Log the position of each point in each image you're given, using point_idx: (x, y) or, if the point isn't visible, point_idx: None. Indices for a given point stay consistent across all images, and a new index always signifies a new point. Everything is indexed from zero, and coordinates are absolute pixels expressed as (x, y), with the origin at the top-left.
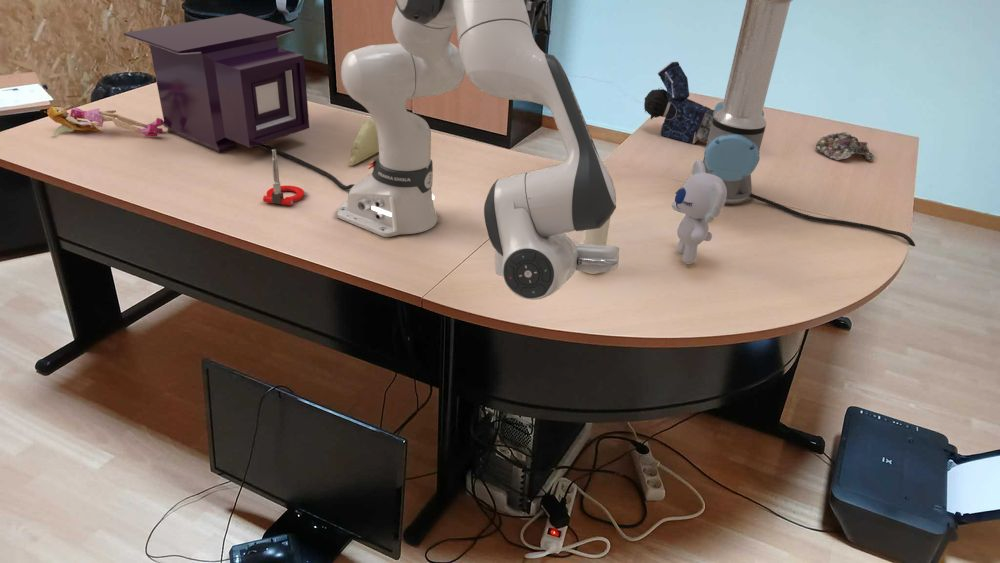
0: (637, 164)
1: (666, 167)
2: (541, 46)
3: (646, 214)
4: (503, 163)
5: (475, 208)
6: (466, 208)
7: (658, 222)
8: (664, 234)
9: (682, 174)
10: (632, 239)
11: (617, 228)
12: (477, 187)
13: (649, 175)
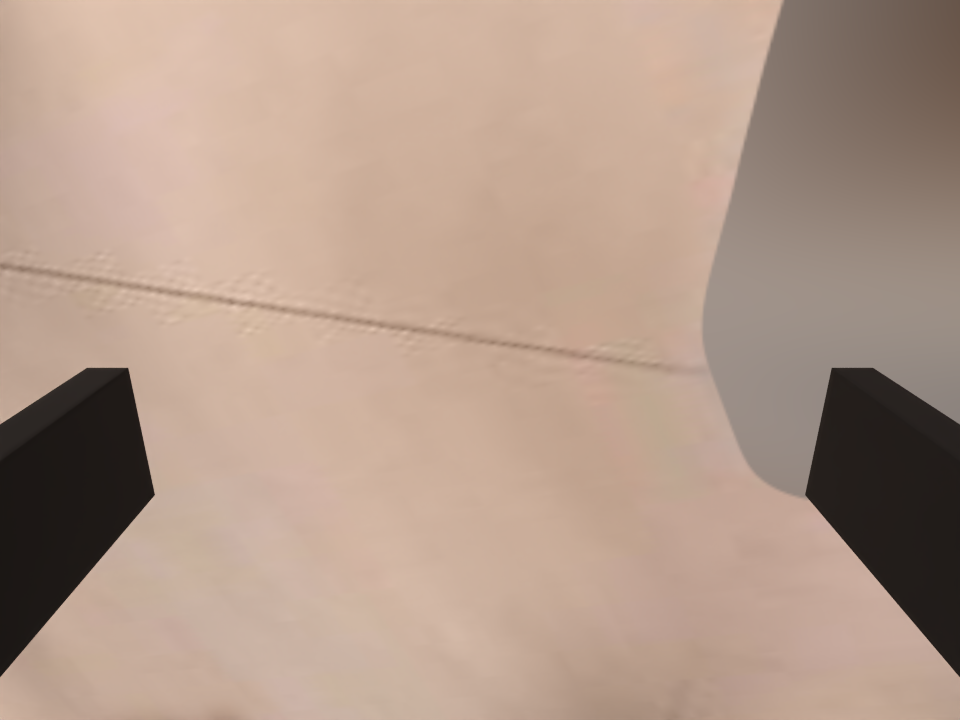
0: (785, 577)
1: (786, 657)
2: (951, 598)
3: (383, 645)
4: (609, 81)
5: (100, 119)
6: (76, 82)
7: (346, 677)
8: (279, 696)
9: (740, 701)
10: (199, 633)
11: (243, 591)
12: (293, 53)
13: (694, 621)
